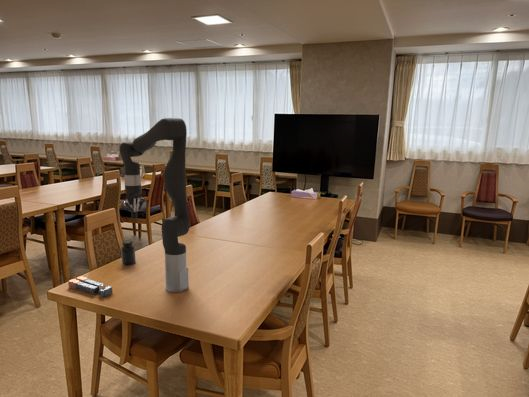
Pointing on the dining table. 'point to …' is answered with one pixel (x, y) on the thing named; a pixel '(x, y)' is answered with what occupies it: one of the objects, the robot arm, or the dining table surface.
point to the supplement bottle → (128, 253)
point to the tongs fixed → (90, 288)
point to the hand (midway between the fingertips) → (134, 218)
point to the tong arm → (88, 281)
